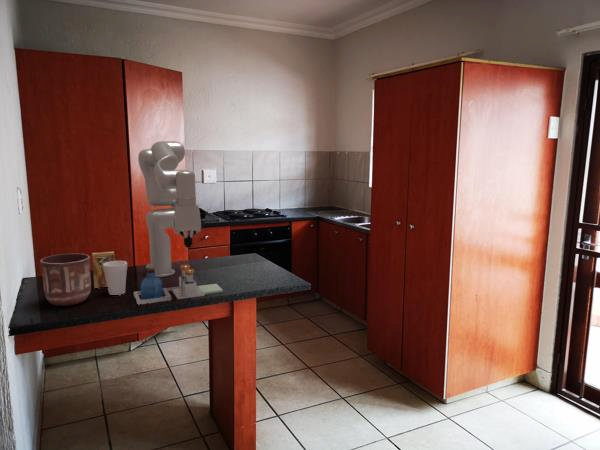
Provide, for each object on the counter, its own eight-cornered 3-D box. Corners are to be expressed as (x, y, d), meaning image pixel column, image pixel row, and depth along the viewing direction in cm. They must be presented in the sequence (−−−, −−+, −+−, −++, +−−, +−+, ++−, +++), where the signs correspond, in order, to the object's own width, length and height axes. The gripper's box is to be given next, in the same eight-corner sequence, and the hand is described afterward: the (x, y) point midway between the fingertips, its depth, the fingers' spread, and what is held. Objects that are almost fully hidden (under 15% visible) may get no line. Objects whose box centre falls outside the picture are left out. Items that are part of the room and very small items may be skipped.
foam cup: (114, 298, 188) (112, 267, 186) (100, 294, 192) (98, 264, 190) (133, 292, 196) (131, 262, 193) (119, 288, 200) (117, 259, 198)
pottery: (41, 312, 172) (37, 265, 169) (45, 298, 188) (42, 255, 185) (92, 306, 179) (90, 261, 176) (93, 293, 195) (90, 251, 192)
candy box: (116, 284, 207) (114, 251, 204) (116, 287, 203) (113, 253, 200) (94, 286, 204) (92, 252, 201) (94, 289, 200) (91, 254, 197)
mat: (199, 294, 192) (199, 292, 192) (194, 288, 201) (194, 286, 201) (222, 291, 197) (222, 289, 197) (216, 285, 206) (216, 283, 205)
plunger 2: (185, 288, 188) (185, 271, 187) (183, 285, 191) (183, 269, 190) (195, 287, 189) (195, 270, 188) (193, 284, 193) (192, 268, 192)
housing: (137, 304, 180) (136, 290, 179) (133, 294, 192) (132, 281, 192) (204, 295, 191) (204, 282, 190) (196, 286, 204) (196, 273, 203)
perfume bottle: (155, 300, 185) (153, 271, 183) (141, 299, 186) (139, 271, 184) (162, 296, 191) (161, 268, 189) (149, 295, 192) (147, 267, 190)
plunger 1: (181, 283, 195) (181, 267, 194) (179, 280, 198) (179, 265, 197) (191, 282, 197) (190, 266, 195) (189, 279, 200) (188, 264, 199)
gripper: (169, 204, 178) (171, 250, 181) (207, 202, 184) (208, 247, 187) (165, 202, 185) (167, 247, 188) (202, 200, 191) (204, 243, 194)
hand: (188, 246), depth 188 cm, fingers closed
